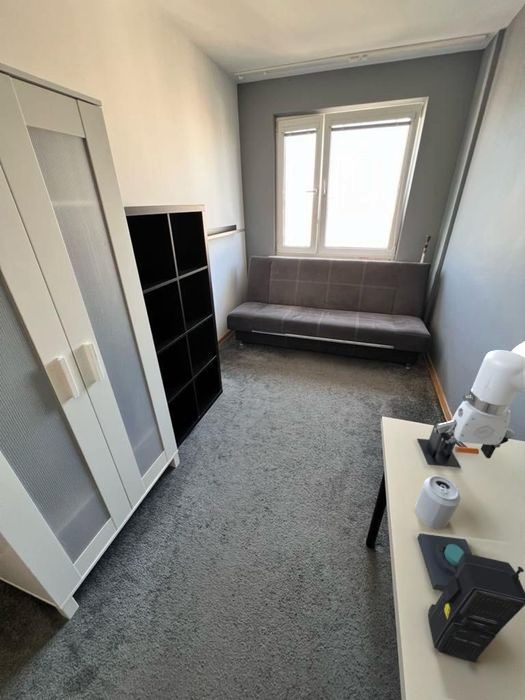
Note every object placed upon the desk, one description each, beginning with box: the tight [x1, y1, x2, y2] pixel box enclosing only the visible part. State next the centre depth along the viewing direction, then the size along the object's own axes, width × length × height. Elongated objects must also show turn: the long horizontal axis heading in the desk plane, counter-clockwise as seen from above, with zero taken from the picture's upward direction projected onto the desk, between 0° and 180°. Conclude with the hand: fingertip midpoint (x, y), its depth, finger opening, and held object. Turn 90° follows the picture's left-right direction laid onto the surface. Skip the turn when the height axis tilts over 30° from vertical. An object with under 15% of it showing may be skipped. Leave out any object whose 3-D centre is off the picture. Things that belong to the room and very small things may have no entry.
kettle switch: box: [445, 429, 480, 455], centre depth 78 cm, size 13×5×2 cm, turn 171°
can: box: [414, 475, 461, 530], centre depth 68 cm, size 8×8×12 cm
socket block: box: [417, 533, 473, 591], centre depth 61 cm, size 10×10×4 cm
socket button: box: [444, 544, 464, 567], centre depth 60 cm, size 4×4×2 cm
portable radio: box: [427, 553, 525, 663], centre depth 46 cm, size 8×6×25 cm
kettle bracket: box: [416, 420, 461, 469], centre depth 85 cm, size 10×9×12 cm
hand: (464, 452), depth 73 cm, fingers open, 9 cm apart
